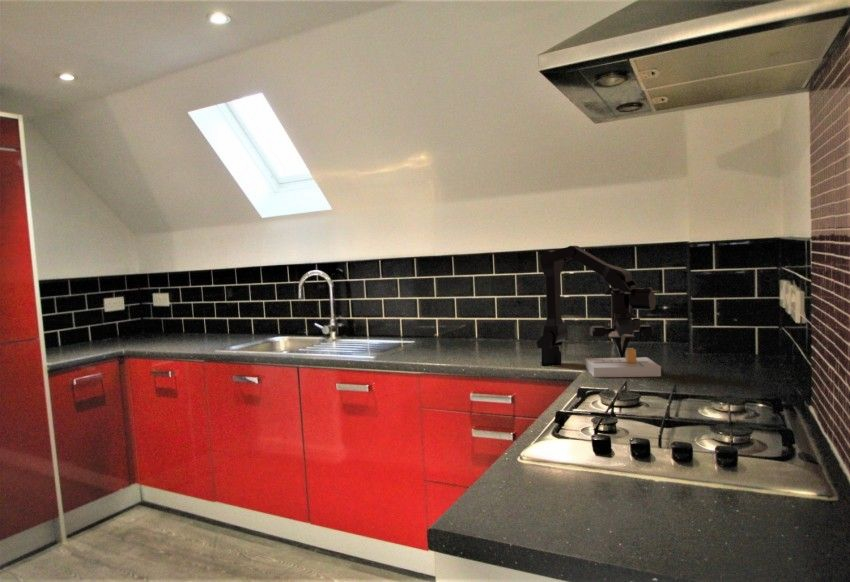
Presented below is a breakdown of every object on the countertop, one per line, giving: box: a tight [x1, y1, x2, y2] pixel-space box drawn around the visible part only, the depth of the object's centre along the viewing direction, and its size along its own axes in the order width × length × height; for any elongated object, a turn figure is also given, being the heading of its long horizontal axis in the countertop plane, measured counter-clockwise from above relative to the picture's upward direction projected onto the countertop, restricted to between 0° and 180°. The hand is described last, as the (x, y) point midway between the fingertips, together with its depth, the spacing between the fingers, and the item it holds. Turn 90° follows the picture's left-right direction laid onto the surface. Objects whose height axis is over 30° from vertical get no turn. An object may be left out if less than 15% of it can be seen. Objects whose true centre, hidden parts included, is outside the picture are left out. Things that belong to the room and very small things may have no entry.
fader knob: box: [624, 347, 637, 363], centre depth 188 cm, size 2×4×6 cm, turn 174°
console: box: [584, 356, 662, 378], centre depth 189 cm, size 20×16×3 cm
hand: (621, 357), depth 188 cm, fingers closed
